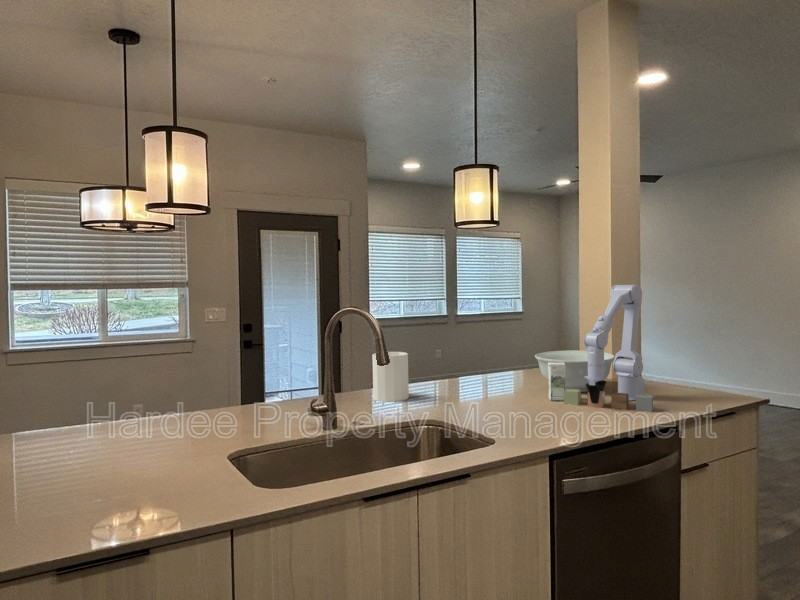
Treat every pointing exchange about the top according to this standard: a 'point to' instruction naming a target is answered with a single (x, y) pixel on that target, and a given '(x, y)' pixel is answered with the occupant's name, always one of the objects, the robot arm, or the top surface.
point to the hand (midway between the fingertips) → (596, 401)
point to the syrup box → (556, 381)
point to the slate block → (644, 403)
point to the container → (391, 378)
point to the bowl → (572, 366)
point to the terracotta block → (600, 402)
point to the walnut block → (620, 401)
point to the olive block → (572, 396)
